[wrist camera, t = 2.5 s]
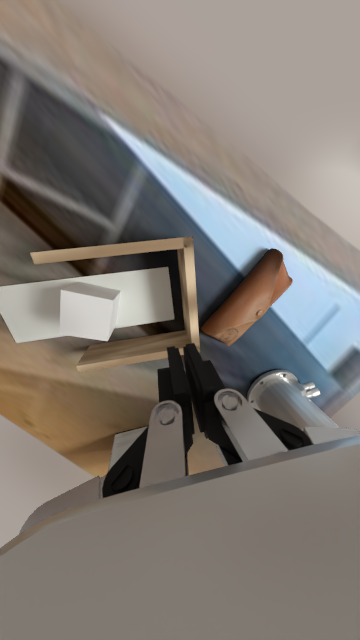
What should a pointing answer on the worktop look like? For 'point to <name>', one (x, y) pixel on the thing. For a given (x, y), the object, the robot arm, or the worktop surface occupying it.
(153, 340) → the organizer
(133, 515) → the robot arm
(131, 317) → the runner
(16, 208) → the worktop surface
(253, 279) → the sunglasses case
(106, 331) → the white cube
